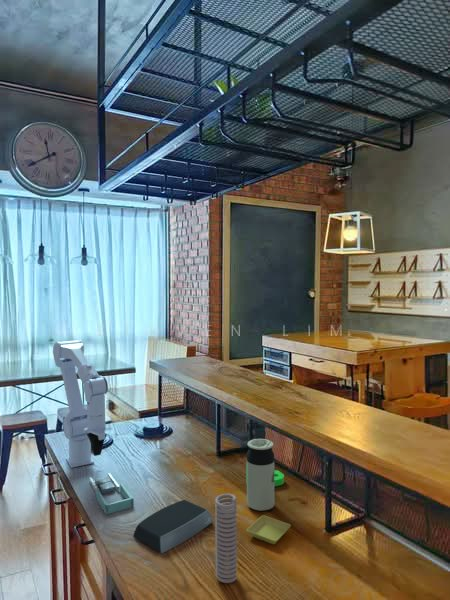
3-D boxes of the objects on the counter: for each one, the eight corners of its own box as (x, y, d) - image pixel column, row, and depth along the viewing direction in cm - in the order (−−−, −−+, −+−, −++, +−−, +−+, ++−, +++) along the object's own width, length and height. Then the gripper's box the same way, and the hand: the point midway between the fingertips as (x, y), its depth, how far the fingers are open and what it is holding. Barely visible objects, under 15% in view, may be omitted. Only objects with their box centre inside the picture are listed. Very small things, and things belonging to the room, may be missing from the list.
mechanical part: (255, 491, 134) (255, 466, 133) (245, 483, 139) (245, 459, 139) (287, 483, 139) (287, 458, 139) (277, 475, 144) (277, 452, 144)
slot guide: (89, 482, 140) (89, 477, 140) (109, 477, 143) (109, 472, 143) (98, 496, 131) (98, 491, 131) (119, 491, 134) (119, 486, 134)
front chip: (98, 490, 135) (98, 484, 135) (111, 487, 137) (111, 481, 137) (102, 496, 132) (101, 489, 132) (115, 492, 134) (114, 486, 134)
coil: (213, 583, 93) (213, 501, 92) (217, 569, 97) (217, 490, 97) (235, 585, 92) (235, 502, 91) (238, 571, 97) (237, 492, 96)
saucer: (275, 549, 105) (275, 541, 105) (245, 537, 110) (245, 529, 110) (291, 532, 112) (291, 524, 112) (262, 522, 117) (262, 514, 117)
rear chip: (94, 484, 139) (94, 478, 139) (107, 481, 141) (107, 475, 141) (98, 490, 136) (98, 483, 136) (110, 486, 138) (110, 480, 138)
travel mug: (242, 507, 124) (242, 445, 123) (253, 495, 131) (253, 436, 130) (268, 514, 120) (268, 450, 119) (278, 501, 127) (278, 441, 127)
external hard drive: (215, 524, 116) (215, 509, 116) (163, 556, 103) (162, 540, 102) (183, 508, 125) (183, 495, 124) (131, 537, 111) (130, 522, 111)
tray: (96, 498, 130) (96, 490, 130) (122, 491, 134) (122, 483, 134) (105, 514, 121) (105, 505, 120) (133, 506, 125) (133, 498, 125)
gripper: (79, 410, 148) (79, 449, 148) (89, 422, 135) (90, 465, 136) (99, 407, 151) (100, 445, 152) (111, 418, 139) (112, 460, 139)
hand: (97, 454), depth 144 cm, fingers closed
